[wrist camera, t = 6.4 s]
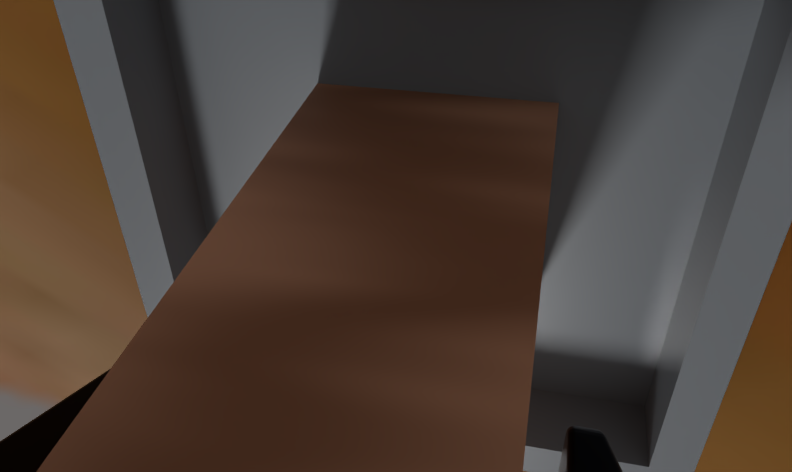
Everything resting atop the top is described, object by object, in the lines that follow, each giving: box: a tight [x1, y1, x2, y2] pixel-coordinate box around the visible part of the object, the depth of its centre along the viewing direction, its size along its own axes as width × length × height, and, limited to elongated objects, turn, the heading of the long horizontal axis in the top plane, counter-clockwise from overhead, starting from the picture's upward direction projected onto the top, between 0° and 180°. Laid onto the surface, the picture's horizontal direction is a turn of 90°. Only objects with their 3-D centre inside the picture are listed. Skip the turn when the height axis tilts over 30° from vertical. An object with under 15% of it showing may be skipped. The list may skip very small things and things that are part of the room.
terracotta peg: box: [37, 83, 559, 472], centre depth 9 cm, size 4×4×10 cm
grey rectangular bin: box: [54, 0, 792, 472], centre depth 13 cm, size 11×11×2 cm
